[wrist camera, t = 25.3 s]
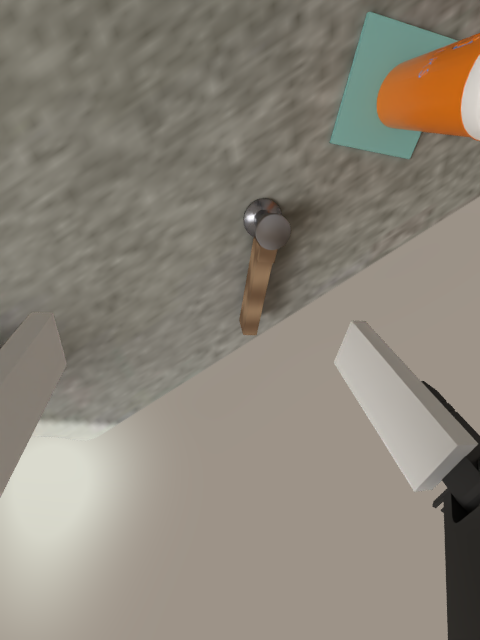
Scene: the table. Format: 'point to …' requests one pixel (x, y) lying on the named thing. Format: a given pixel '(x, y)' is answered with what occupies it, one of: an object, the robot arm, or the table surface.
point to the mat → (366, 79)
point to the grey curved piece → (258, 213)
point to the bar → (261, 268)
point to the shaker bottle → (435, 91)
